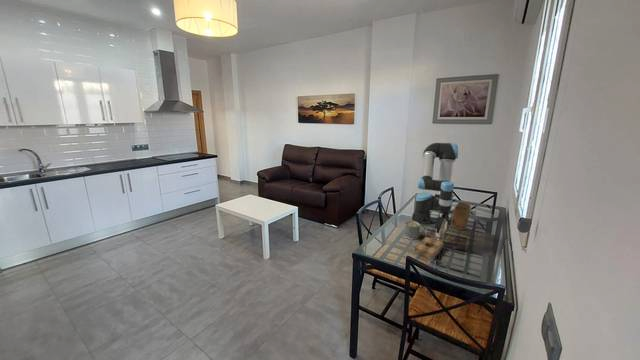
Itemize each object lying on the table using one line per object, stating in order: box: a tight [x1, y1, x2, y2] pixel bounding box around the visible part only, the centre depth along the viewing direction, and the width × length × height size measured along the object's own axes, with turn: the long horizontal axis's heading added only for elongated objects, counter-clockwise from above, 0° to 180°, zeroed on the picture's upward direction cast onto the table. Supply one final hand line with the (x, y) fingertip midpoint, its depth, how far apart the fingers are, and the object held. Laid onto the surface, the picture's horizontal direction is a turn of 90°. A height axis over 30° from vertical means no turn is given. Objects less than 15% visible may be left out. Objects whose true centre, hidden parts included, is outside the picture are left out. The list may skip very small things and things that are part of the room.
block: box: [450, 202, 471, 231], centre depth 196 cm, size 11×8×20 cm
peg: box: [436, 219, 446, 243], centre depth 177 cm, size 4×4×18 cm
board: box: [414, 236, 444, 261], centre depth 169 cm, size 12×18×4 cm, turn 138°
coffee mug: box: [403, 220, 425, 240], centre depth 186 cm, size 13×10×10 cm
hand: (440, 232), depth 177 cm, fingers open, 13 cm apart
